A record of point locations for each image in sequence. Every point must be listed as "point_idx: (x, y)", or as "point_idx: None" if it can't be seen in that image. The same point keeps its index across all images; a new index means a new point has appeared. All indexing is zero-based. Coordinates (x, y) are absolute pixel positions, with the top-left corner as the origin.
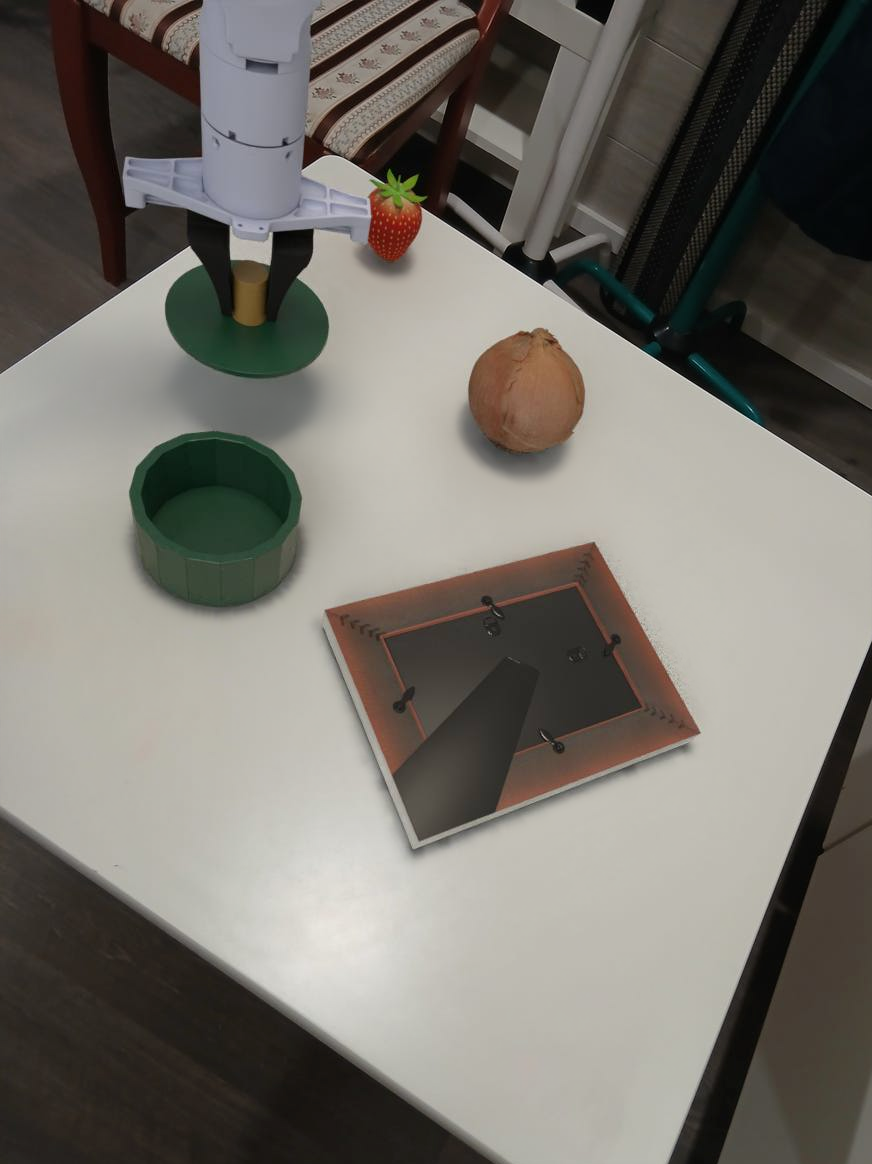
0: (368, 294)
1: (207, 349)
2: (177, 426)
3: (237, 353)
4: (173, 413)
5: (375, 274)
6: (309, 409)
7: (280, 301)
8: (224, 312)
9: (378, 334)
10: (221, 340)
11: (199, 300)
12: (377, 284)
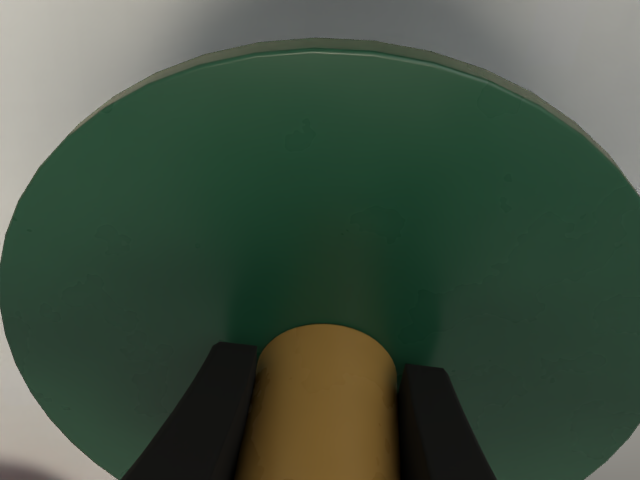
0: (45, 426)
1: (548, 201)
2: (581, 21)
3: (406, 181)
4: (578, 75)
5: (37, 466)
6: None
7: (159, 439)
8: (437, 379)
9: (3, 333)
10: (467, 252)
11: (508, 424)
12: (29, 446)
